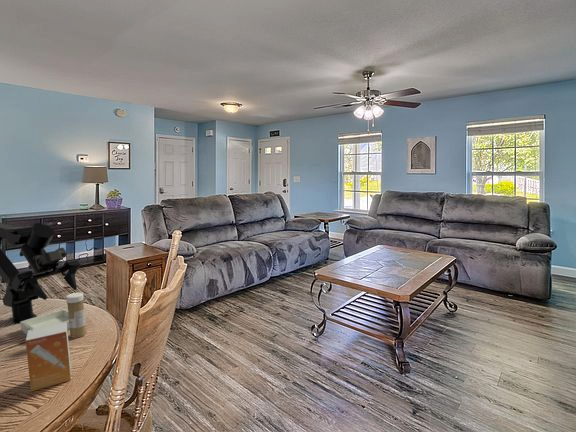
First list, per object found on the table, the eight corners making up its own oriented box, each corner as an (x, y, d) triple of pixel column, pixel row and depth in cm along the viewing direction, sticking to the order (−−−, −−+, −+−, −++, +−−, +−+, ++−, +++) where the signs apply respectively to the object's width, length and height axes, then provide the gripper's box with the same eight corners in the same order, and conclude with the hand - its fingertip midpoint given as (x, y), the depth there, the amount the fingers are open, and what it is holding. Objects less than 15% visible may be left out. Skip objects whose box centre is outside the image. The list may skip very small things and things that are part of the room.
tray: (21, 330, 109) (20, 321, 109) (65, 316, 120) (64, 308, 119) (35, 341, 102) (34, 332, 101) (81, 325, 112) (80, 317, 112)
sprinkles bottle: (68, 335, 105) (63, 295, 104) (84, 330, 109) (80, 291, 107) (73, 340, 102) (68, 298, 101) (89, 334, 106) (85, 294, 104)
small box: (30, 392, 78) (24, 340, 76) (33, 379, 83) (27, 329, 81) (71, 380, 82) (66, 331, 81) (71, 368, 88) (66, 321, 86)
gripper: (12, 247, 99) (38, 288, 95) (74, 236, 115) (98, 270, 112) (1, 270, 103) (25, 310, 100) (63, 256, 120) (85, 290, 116)
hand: (61, 293), depth 107 cm, fingers open, 9 cm apart
